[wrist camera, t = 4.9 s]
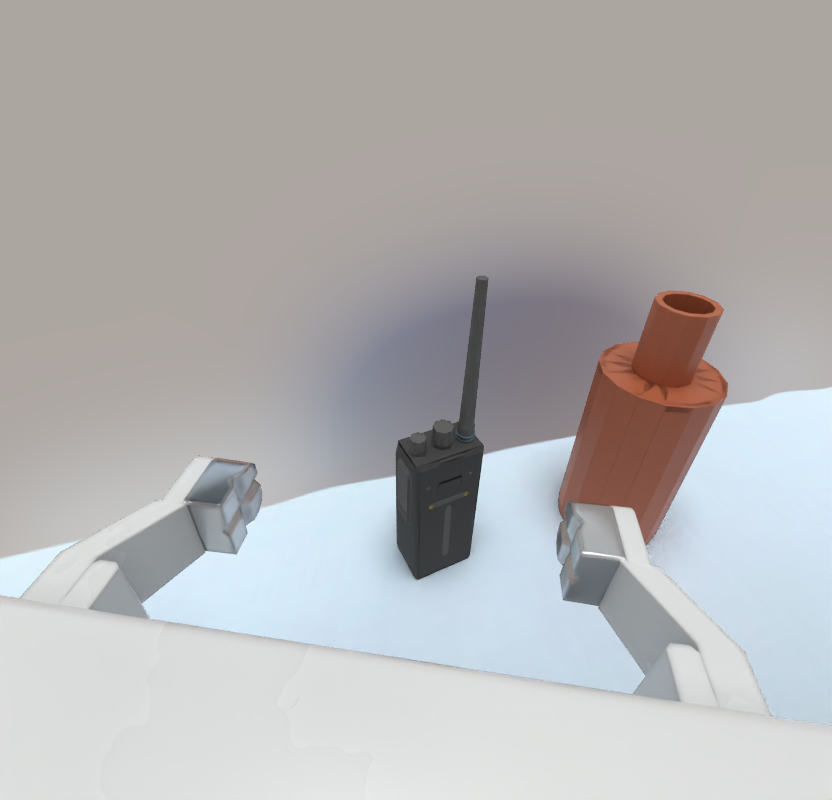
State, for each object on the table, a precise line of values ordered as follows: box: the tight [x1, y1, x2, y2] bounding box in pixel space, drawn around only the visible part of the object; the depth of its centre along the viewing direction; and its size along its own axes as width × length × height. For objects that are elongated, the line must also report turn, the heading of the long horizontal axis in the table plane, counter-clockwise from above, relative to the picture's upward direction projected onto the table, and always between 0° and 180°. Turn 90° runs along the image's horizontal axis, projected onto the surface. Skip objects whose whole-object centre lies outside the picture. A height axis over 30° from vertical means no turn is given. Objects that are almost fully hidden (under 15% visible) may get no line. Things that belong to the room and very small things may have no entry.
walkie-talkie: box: [396, 276, 488, 579], centre depth 27 cm, size 5×3×20 cm
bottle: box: [558, 291, 728, 545], centre depth 31 cm, size 7×7×18 cm
